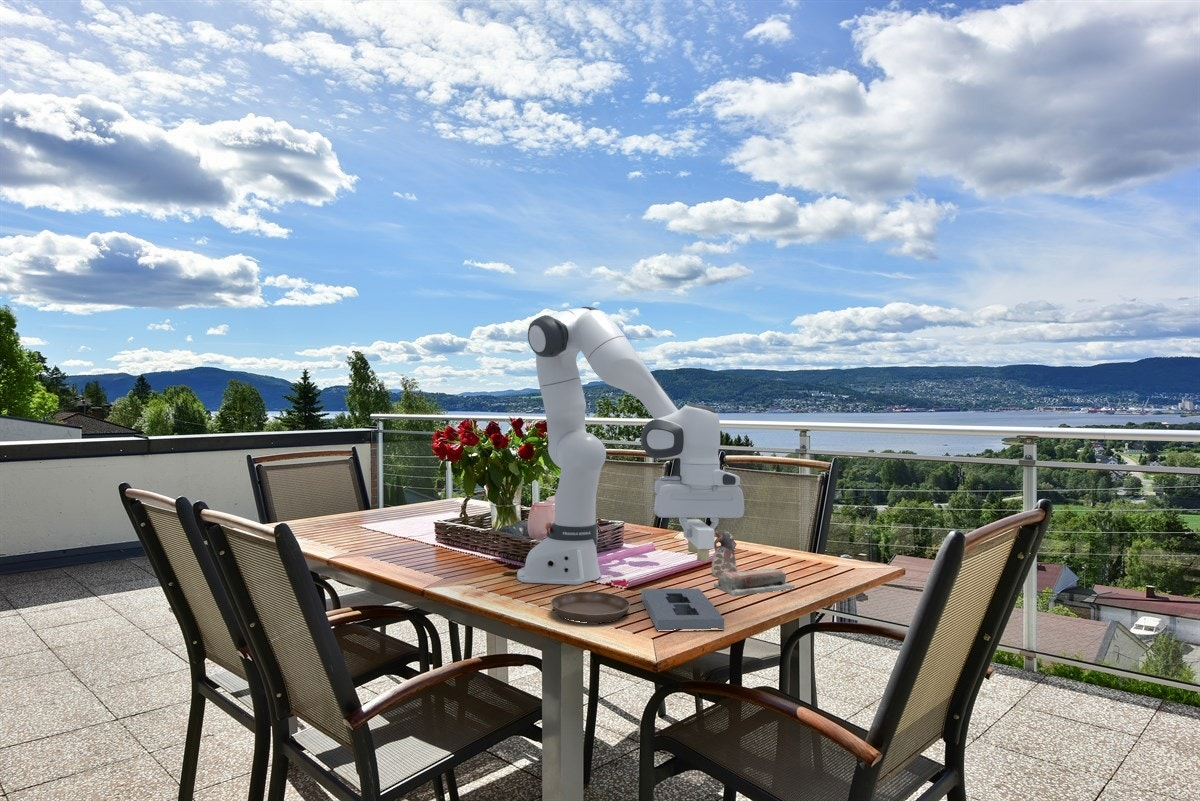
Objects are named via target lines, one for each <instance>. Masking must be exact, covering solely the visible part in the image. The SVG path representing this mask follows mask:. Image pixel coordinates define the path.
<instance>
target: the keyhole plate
mask: <svg viewBox="0 0 1200 801" xmlns="http://www.w3.org/2000/svg"><path fill="white" fill-rule="evenodd" d="M641 601H642V603H643V605H644V608H645V609H646V610H645V611H646V612H647V613H648V616H649V617H650V620H651V619H652V620H651V622H652V621H653V622H652V624H653V623H654V624H653V625H655V626H654V628H655V627H656V628H655V630H656V629H657V630H674V629H676V630H677V629H711V628H718V629H724V630H725V618H724V617H723V615H722V614H721V613H720V612H719V611H718V610H717V609H716V607H715V606H714V605H713V603H712V602H711V601H710V600H709V599H708V597H707V595H705V594H704V592H703V591H702V590H701V588H642V589H641ZM657 630H656V631H657Z"/></svg>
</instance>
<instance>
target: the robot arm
mask: <svg viewBox="0 0 1200 801" xmlns="http://www.w3.org/2000/svg"><path fill="white" fill-rule="evenodd" d="M527 341H528V343H529V344H528V345H529V347H530V348H531V350H532V351H533V353H534V354H535V365H536V373H537V380H538V384H539V391H540V394H541V398H542V402H543V407H544V412H545V417H546V428H547V429H546V430H547V442H548V444H547V445H548V447H547V451H548V456H549V457H550V460H551V461H552V462H553V464H554V465H555V466H556V467H558V468H560V473H559V474H560V475H559V480H558V486H557V488H556V491H555V494H554V522H553V523H552V522H547V523H545V530H546V538H544V539H543V540H542V541H540V542H539V543H538V544H536V545H535V546H534V547H533V548H532V549H530V551H529V552H528V554H527V556H526V559H525V563H524V567H521V568H519V569H518V570H517V573H516V579H517V580H518V581H519V582H521V583H530V584H531V583H532V584H550V585H552V584H553V585H572V586H573V585H574V586H575V585H581V584H584V583H587V582H591V581H595V580H598V579H600V578H601V577H602V573H601V570H600V566H599V560H598V553H597V544H598V536H599V534H598V524H597V522H596V517H597V516H596V513H597V491H598V487H599V486H598V485H599V482H600V476H601V472H602V467H603V466H604V464H605V462H606V458H607V450H606V447H605V445H604V443H603V442H602V441H601V440H600V439H599V438H598V437H597V436H596V435H594V434H592V433H589V432H587V429H586V409H587V402H586V397H585V394H584V389H583V383H582V379H581V376H580V375H581V374H580V372H579V368H578V365H577V357H578V356H579V353H580V352H581V353H582V355H583V356H584V358H585V360H586V361H587V363H588V364H589V366H590V368H591V369H592V370H593V372H594V373H595V374H596V375H597V377H599V378H600V380H602V382H604V383H605V384H606V385H608V386H611V387H614V388H617V389H618V390H619V389H620V390H621V391H624V392H626V393H628V394H631V395H632V396H633V397H635V398H636V399H638V400H639V401H640V402H641V403H642V405H643V406H644V407H645V409H646V410H647V411H648V413H649V414H650V415H651V417H652V418H653V419H652V420H650V421H649V422H647V423H646V424H645V425H644V426H643V428H642V430H641V433H640V434H641V435H640V441H641V446H642V448H643V451H644V452H645V453H646V454H647V455H648V456H649V457H651V458H654V459H656V460H657V459H658V460H673V459H679V460H680V463H679V464H680V465H679V466H680V467H679V468H680V469H679V470H680V471H679V475H670V476H669V475H660V477H658V478H656V479H655V481H654V482H653V491H654V494H655V498H654V504H653V506H654V507H653V512H654V514H655V515H656V516H657V517H658V518H670V519H671V518H672V519H673V518H678V522H679V523H680V525H681V526H680V527H682V530H683V537H684V538H685V539H686V538H691V536H692V535H691V533H692V530H691V529H687V527H686V525H685V523H684V522H687V519H693V518H694V519H695V518H696V519H697V518H698V519H700V518H703V519H704V518H706V519H707V518H709V520H710V522H711V524H710V525H709V527H711V528H712V529H714V530H716V528H717V526H718V525H719V522H720V521H719V520H720V519H730V518H731V519H735V518H736V519H740V518H742V517H743V515H745V497H744V493H743V490H742V488H741V487H740V486H739V485H740V484H741V477H740V476H739V475H737V474H735V473H732V472H729V471H728V470H724V469H721V460H720V457H719V449H720V446H721V424H720V423H721V422H720V418H719V417H720V416H719V414H718V411H717V410H716V409H715V408H714V407H711V406H709V405H704V404H697V403H687V404H685V405H684V406H683V407H681V408H679V407H678V406H677V404H676V403H675V402H674V401H673V399H672V398H671V396H670V395H669V394H668V392H667V391H666V390H665V388H663V385H661V384H660V382H659V381H658V380H657V379H656V377H655V376H654V375H653V374H652V372H651V371H650V370H649V368H648V367H647V366H646V364H645V362H643V361H642V359H641V357H640V356H639V354H638V353H637V351H636V350H635V349H634V347H633V345H632V344H631V343H630V341H629V340H628V338H627V337H626V335H625V334H624V332H623V331H622V330H621V329H620V327H619V326H618V325H617V324H616V323H615V322H614V320H612V319H611V317H610V316H609V315H608V314H607V313H606V312H605V311H602V310H601V309H599V308H596V307H591V306H582V307H580V308H568V309H563V310H561V311H557V312H553V313H550V314H548V315H547V314H545V315H542V316H540V317H537V318H536V319H534V320H532V321H531V323H530V324H529V326H528V329H527ZM599 577H600V578H599Z"/></svg>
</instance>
